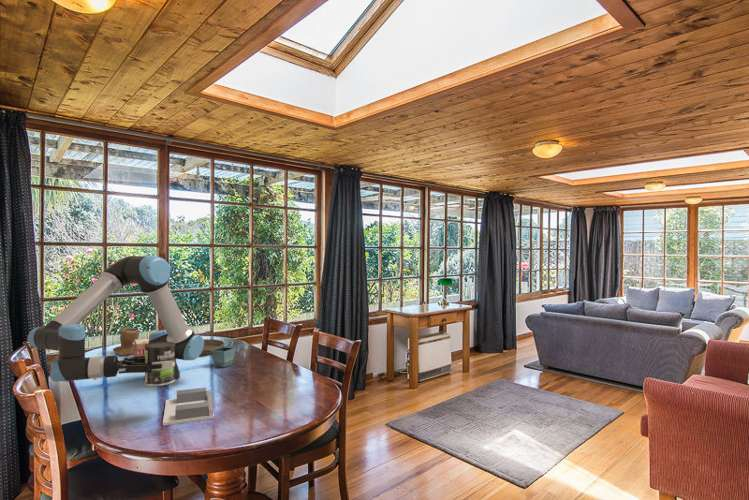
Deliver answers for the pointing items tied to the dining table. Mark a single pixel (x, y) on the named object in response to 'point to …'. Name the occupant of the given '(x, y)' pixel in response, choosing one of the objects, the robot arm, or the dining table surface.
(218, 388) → the dining table surface
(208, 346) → the plant saucer
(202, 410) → the block
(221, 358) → the flower pot
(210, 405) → the metal rail
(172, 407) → the mounting board
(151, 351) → the coffee can
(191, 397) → the block
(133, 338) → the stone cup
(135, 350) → the tan printed box
